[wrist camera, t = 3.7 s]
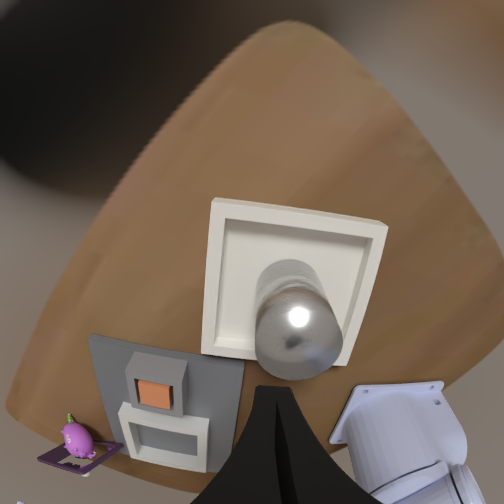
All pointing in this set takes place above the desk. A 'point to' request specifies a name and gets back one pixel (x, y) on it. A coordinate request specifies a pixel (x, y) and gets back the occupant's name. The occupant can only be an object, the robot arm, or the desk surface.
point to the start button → (156, 394)
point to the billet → (294, 322)
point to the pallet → (182, 409)
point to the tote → (279, 248)
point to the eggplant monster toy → (77, 449)
